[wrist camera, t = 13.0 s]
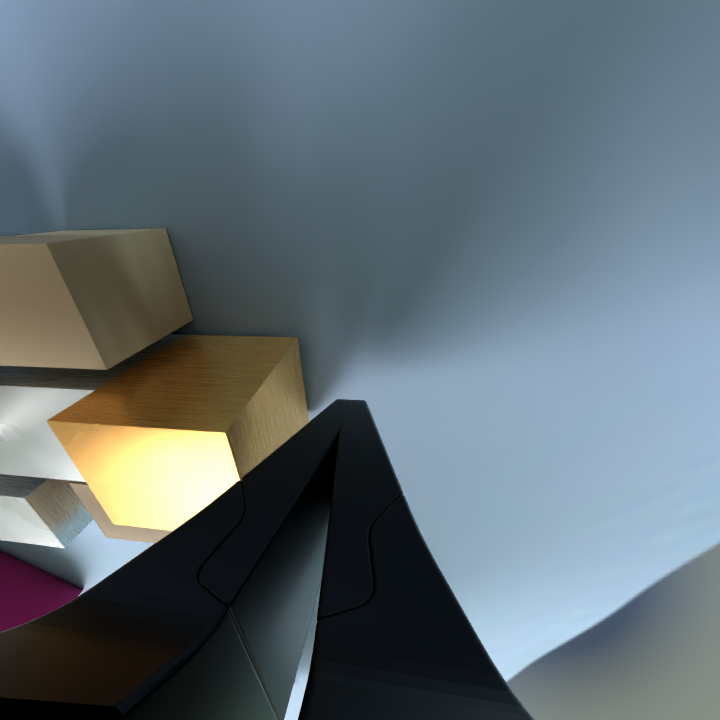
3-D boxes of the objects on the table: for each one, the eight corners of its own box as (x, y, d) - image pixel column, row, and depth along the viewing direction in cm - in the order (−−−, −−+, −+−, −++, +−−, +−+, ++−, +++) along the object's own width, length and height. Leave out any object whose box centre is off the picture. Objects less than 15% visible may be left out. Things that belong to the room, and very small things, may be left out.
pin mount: (239, 470, 12) (193, 547, 9) (169, 464, 12) (106, 537, 10) (165, 227, 8) (45, 243, 5) (64, 230, 8) (-96, 245, 6)
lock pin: (309, 420, 10) (258, 540, 7) (59, 405, 11) (-98, 500, 8) (297, 337, 9) (225, 432, 5) (13, 330, 10) (-204, 403, 6)
